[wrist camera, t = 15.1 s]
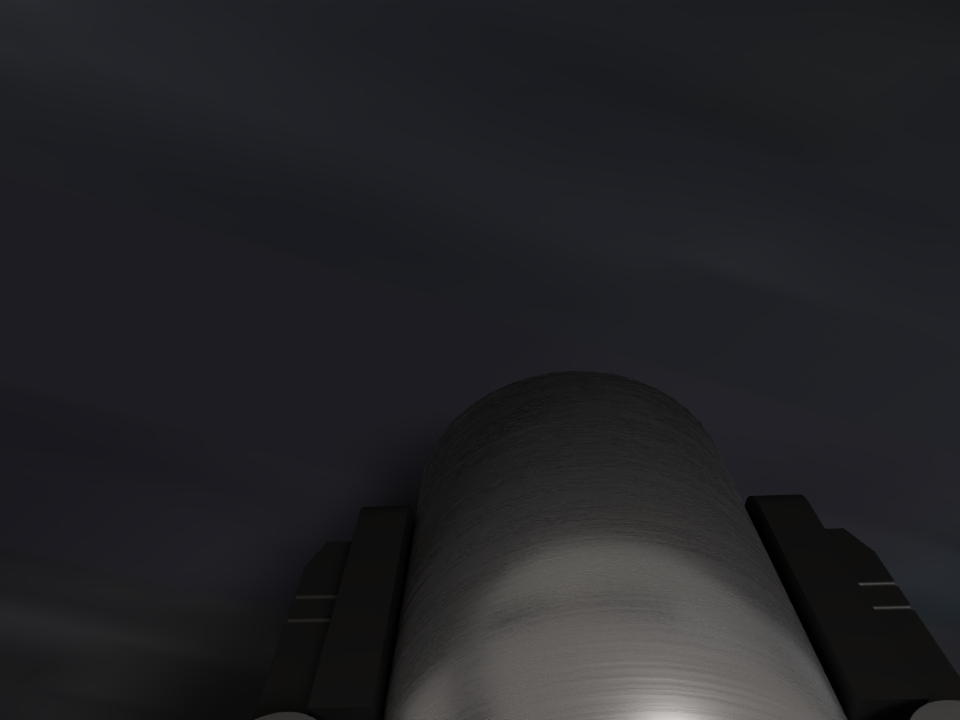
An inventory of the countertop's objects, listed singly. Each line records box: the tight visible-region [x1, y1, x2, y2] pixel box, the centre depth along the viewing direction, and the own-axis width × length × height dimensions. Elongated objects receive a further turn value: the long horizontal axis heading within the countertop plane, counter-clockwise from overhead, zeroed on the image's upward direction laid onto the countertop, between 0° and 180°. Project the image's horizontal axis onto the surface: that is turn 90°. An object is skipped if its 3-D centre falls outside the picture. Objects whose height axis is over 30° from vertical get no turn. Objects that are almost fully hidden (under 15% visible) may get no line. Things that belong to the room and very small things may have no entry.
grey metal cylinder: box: [383, 371, 847, 720], centre depth 9 cm, size 5×5×7 cm
